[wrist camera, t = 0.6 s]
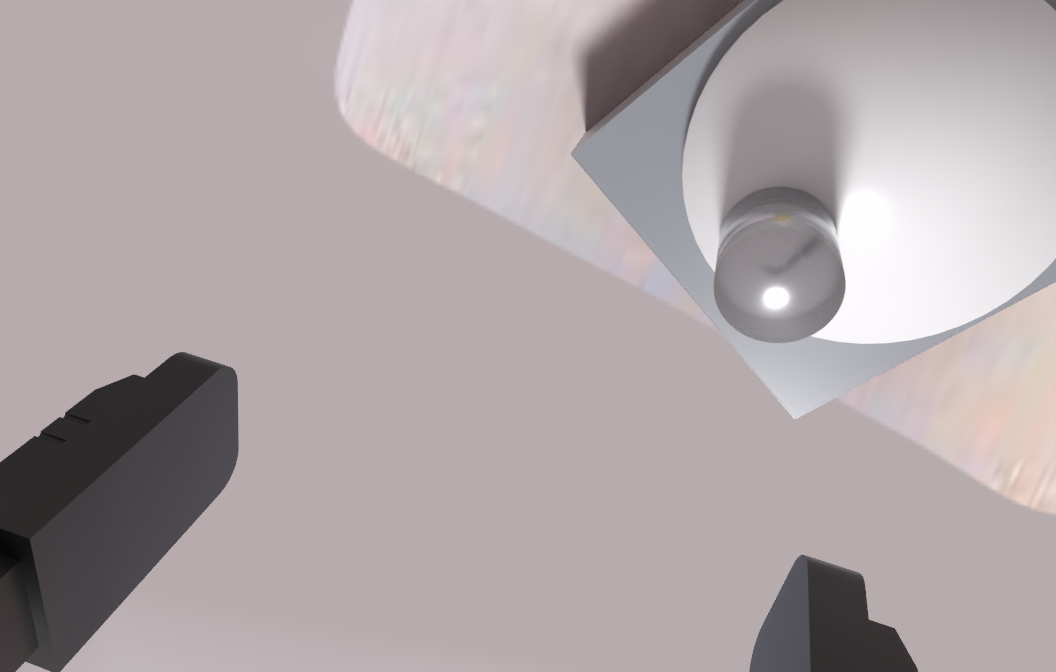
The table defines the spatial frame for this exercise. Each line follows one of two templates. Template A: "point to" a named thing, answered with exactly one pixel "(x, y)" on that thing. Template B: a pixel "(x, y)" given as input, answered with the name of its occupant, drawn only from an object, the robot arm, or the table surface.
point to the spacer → (779, 266)
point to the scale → (853, 166)
